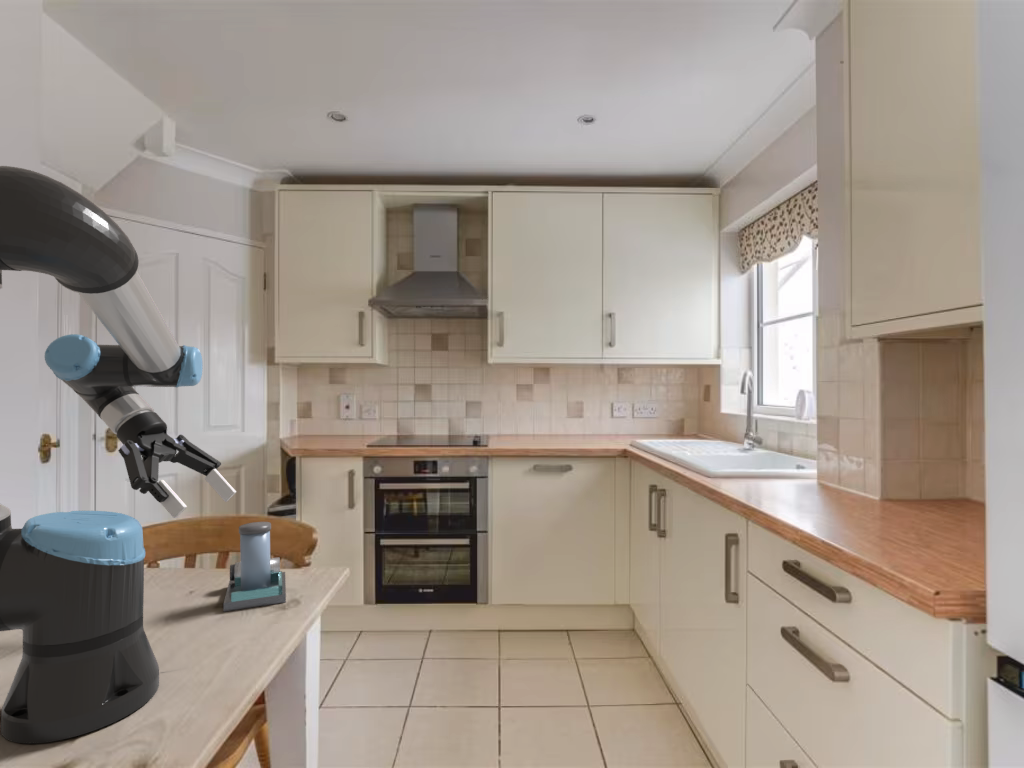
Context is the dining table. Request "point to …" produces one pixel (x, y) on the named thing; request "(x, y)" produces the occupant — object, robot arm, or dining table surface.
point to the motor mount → (255, 597)
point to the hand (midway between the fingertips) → (207, 504)
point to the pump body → (255, 555)
